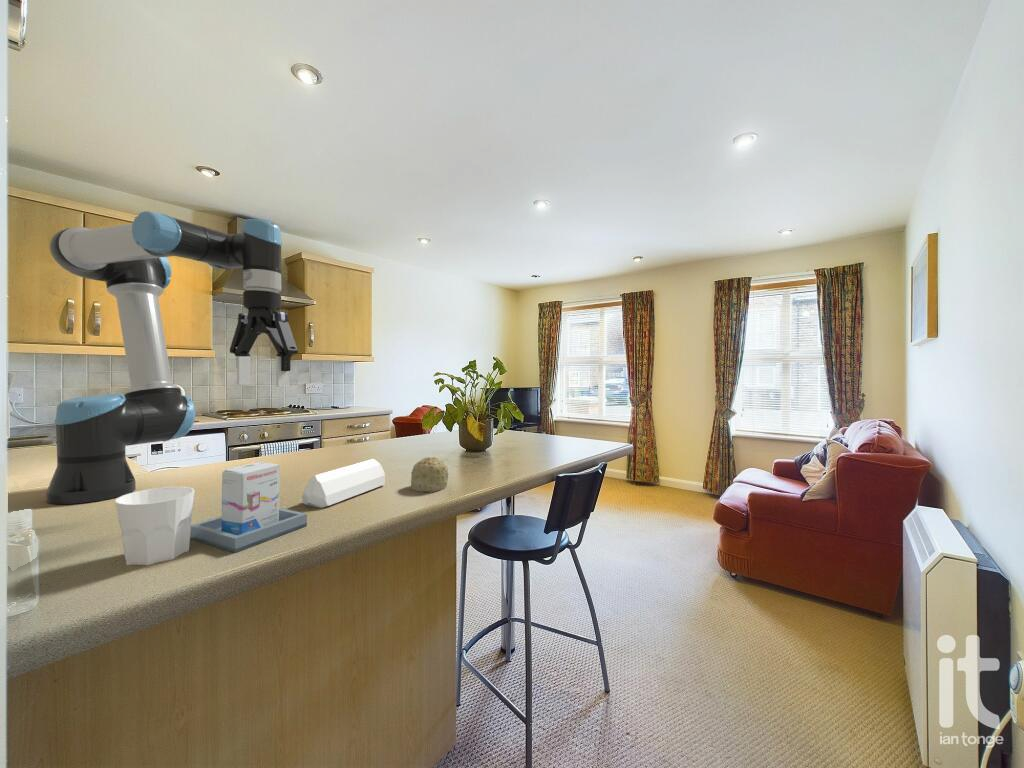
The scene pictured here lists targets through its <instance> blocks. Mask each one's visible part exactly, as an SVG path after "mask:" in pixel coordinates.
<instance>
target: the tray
mask: <svg viewBox="0 0 1024 768" xmlns="http://www.w3.org/2000/svg"><path fill="white" fill-rule="evenodd" d="M307 526H308V513H306V512H305V513H304V512H301V511H296V510H291V509H286V508H283V507H279V522H276V523H273V524H270V525H267V526H264V527H261V528H258V529H255V530H252V531H249V532H246V533H244V534H241V535H238V536H237V535H234V534H230V533H227V532H223V531H221V527H222V515H221V516H218V517H215V518H211V519H207V520H203V521H200V522H197V523H193V524H191V529H190V540H192V541H196V542H199V543H202V544H205V545H209V546H212V547H215V548H219V549H222V550H224V551H229V552H231V553H235V554H237V553H239V552H241V551H244V550H247V549H250V548H252V547H254V546H258V545H260V544H262V543H266V542H268V541H271V540H273V539H276V538H279V537H282V536H284V535H287V534H289V533H292V532H294V531H297V530H300V529H302V528H305V527H307Z"/></svg>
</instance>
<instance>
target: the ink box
mask: <svg viewBox="0 0 1024 768" xmlns="http://www.w3.org/2000/svg"><path fill="white" fill-rule="evenodd" d="M280 468H281V467H280V464H278V463H272V462H265V461H257V462H253V463H247V464H243V465H239V466H238V465H237V466H235V467H230V468H226V469H225V470H224V471H222V472H221V516H222V527H221V531H223V532H227V533H230V534H234V535H237V536H238V535H241V534H244V533H246V532H249V531H252V530H255V529H258V528H261V527H264V526H267V525H270V524H273V523H276V522H279V508H280V473H281V472H280Z"/></svg>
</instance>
